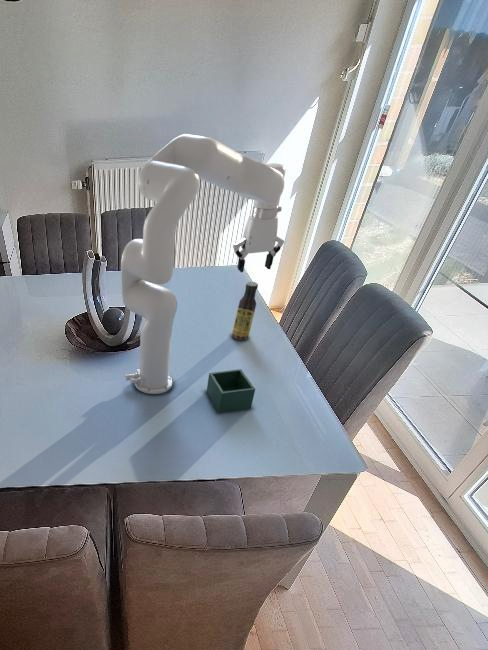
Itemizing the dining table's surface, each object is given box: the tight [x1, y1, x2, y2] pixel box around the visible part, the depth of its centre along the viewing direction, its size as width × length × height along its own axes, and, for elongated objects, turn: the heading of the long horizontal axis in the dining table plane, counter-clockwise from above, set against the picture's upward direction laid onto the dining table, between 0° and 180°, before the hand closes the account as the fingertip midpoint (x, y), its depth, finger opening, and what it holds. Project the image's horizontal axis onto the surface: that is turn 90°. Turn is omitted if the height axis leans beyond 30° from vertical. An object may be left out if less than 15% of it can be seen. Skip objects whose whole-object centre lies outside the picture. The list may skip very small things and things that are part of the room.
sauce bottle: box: [231, 281, 259, 341], centre depth 166 cm, size 7×6×20 cm
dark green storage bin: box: [206, 368, 256, 413], centre depth 143 cm, size 11×12×7 cm
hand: (254, 269), depth 156 cm, fingers open, 9 cm apart
